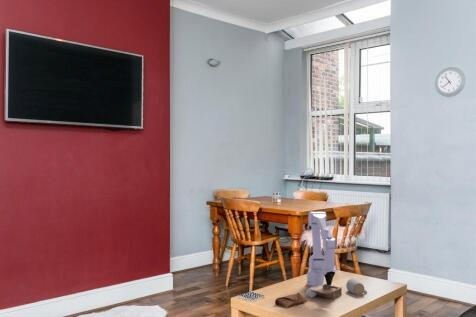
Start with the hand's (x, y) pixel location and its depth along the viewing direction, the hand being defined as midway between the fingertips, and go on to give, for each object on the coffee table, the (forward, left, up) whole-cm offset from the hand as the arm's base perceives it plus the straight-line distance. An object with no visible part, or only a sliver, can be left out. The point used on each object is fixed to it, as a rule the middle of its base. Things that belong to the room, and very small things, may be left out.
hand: (328, 284), depth 238 cm
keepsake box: (0, +1, -6) cm, 6 cm away
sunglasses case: (-9, -23, -7) cm, 26 cm away
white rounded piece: (-9, -7, -5) cm, 12 cm away
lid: (0, -6, -2) cm, 7 cm away
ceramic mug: (+10, +15, -6) cm, 19 cm away
